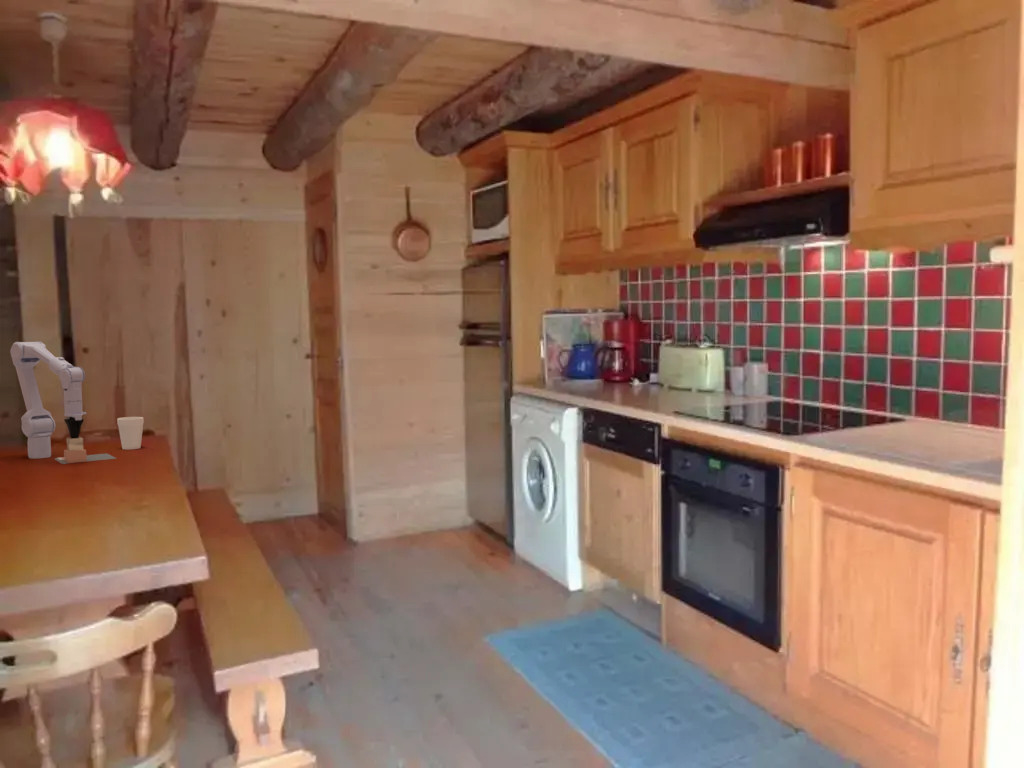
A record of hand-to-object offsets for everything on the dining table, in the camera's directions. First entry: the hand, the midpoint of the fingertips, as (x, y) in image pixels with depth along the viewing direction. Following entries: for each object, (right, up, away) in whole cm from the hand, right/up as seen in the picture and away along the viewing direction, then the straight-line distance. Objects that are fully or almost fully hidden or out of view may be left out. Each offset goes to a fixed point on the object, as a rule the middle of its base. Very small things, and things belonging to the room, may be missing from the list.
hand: (74, 438), depth 288 cm
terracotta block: (0, -8, +1) cm, 8 cm away
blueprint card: (-5, -8, +6) cm, 11 cm away
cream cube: (0, -4, 0) cm, 4 cm away
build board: (+1, -9, +6) cm, 11 cm away
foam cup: (+6, -7, +30) cm, 31 cm away
